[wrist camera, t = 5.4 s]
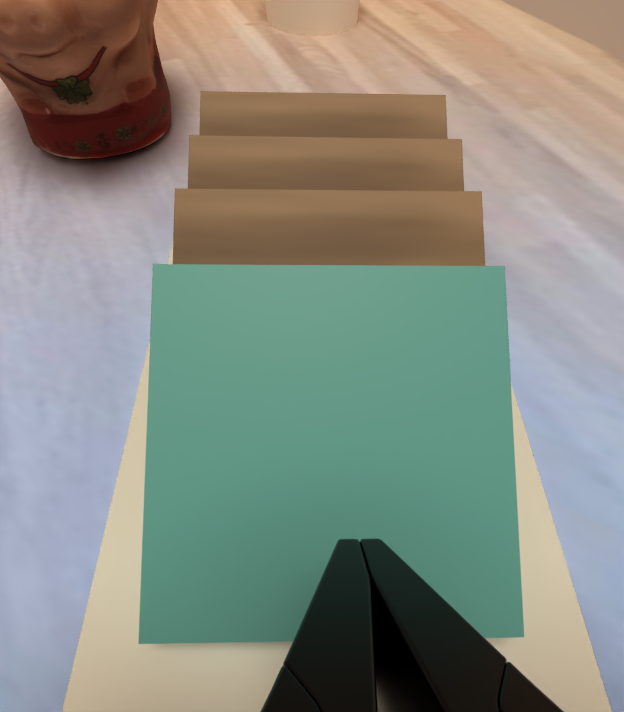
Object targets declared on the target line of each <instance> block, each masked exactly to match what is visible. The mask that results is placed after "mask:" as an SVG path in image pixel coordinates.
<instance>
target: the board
mask: <svg viewBox="0 0 624 712" xmlns="http://www.w3.org/2000/svg"><path fill="white" fill-rule="evenodd" d="M168 264H173V243H172V247H171V251H170V256H169V260H168ZM149 356H150V340H149V345H148V349H147V353H146V357H145V362H144V366H143V370H142V374H141V379H140V383H139V387H138V391H137V396H136V400H135V404H134V408H133V413H132V417H131V421H130V425H129V430H128V434H127V438H126V442H125V447H124V451H123V455H122V459H121V464H120V468H119V472H118V476H117V480H116V485H115V489H114V493H113V497H112V502H111V506H110V510H109V514H108V519H107V523H106V527H105V531H104V536H103V540H102V544H101V548H100V553H99V557H98V561H97V565H96V570H95V574H94V578H93V582H92V587H91V591H90V595H89V599H88V604H87V608H86V612H85V616H84V621H83V625H82V629H81V633H80V638H79V642H78V646H77V650H76V654H75V659H74V663H73V667H72V671H71V676H70V680H69V684H68V688H67V693H66V697H65V701H64V705H63V710H62V712H260V711H261V709H262V707H263V705H264V703H265V701H266V699H267V697H268V695H269V693H270V691H271V689H272V687H273V684H274V682H275V680H276V678H277V675H278V673H279V671H280V669H281V667H282V666H283V663H284V660H285V658H286V656H287V654H288V651H289V649H290V647H291V645H292V642H293V641H284V642H226V643H169V644H138V641H139V615H140V589H141V563H142V537H143V511H144V485H145V459H146V433H147V407H148V382H149ZM511 396H512V415H513V433H514V452H515V471H516V490H517V509H518V528H519V546H520V565H521V584H522V603H523V622H524V637H514V638H485V639H486V640H487V641H488V642H490V643H491V644H492V645H493V646H494V647H495V648H496V649H497V650H498V651H499V652H500V653H501V654H502V655H503V656H504V657H505V658H506V660H507V662H511V663H512V664H513V665H514V666H515V667H516V668H517V669H518V670H519V671H520V672H521V673H522V674H523V675H524V676H525V677H527V678H528V679H529V680H530V681H531V682H532V683H533V684H534V685H535V686H536V687H537V688H538V689H540V690H541V691H542V692H543V693H544V694H545V695H546V696H547V697H548V698H549V699H551V700H552V701H553V702H554V703H555V704H556V705H557V706H558V707H559V708H560V709H562V710H563V711H564V712H612V711H611V708H610V704H609V701H608V698H607V695H606V691H605V688H604V685H603V682H602V678H601V675H600V672H599V669H598V665H597V662H596V659H595V656H594V652H593V649H592V646H591V642H590V639H589V636H588V633H587V629H586V626H585V623H584V620H583V616H582V613H581V610H580V607H579V603H578V600H577V597H576V594H575V590H574V587H573V584H572V581H571V577H570V574H569V571H568V568H567V564H566V561H565V558H564V555H563V551H562V548H561V545H560V542H559V538H558V535H557V532H556V529H555V525H554V522H553V519H552V516H551V512H550V509H549V506H548V503H547V499H546V496H545V493H544V490H543V486H542V483H541V480H540V477H539V473H538V470H537V467H536V464H535V460H534V457H533V454H532V451H531V447H530V444H529V441H528V437H527V434H526V431H525V428H524V424H523V421H522V418H521V415H520V411H519V408H518V405H517V402H516V398H515V395H514V392H513V389H512V385H511Z"/></svg>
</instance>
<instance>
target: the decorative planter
mask: <svg viewBox="0 0 624 712" xmlns="http://www.w3.org/2000/svg"><path fill="white" fill-rule="evenodd" d="M157 2H158V0H0V77H1V79H2V80H3V82H4V83H5V85H6V86H7V88H8V89H9V91H10V92H11V94H12V96H13V97H14V99H15V101H16V102H17V104H18V106H19V108H20V110H21V112H22V114H23V117H24V119H25V122H26V125H27V128H28V131H29V134H30V137H31V139H32V141H33V143H34V144H35V145H36V146H37V147H39V148H41V149H43V150H45V151H47V152H49V153H51V154H54V155H56V156H60V157H67V158H71V159H85V158H101V157H108V156H114V155H119V154H124V153H128V152H131V151H135V150H138V149H140V148H143V147H146V146H148V145H150V144H151V143H153V142H155V141H156V140H158V139H159V138H161V137H162V136H163V135H164V134H165V132H166V131H167V129H168V127H169V123H170V118H171V105H170V95H169V90H168V86H167V82H166V79H165V76H164V73H163V70H162V66H161V61H160V57H159V52H158V49H157V45H156V40H155V34H154V27H153V21H154V16H155V12H156V7H157Z"/></svg>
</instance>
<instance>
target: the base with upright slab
mask: <svg viewBox="0 0 624 712" xmlns="http://www.w3.org/2000/svg"><path fill="white" fill-rule="evenodd" d="M265 10H266V18H267V21H268V22H269V23H270V24H271V25H272V26H273V27H275V28H277V29H279V30H281V31H284V32H287V33H291V34H297V35H304V36H327V35H332V34H338V33H341V32H344V31H347V30H349V29H350V28H352V27H353V26H354V25H355V24H356V23H357V21H358V10H359V0H265Z"/></svg>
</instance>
